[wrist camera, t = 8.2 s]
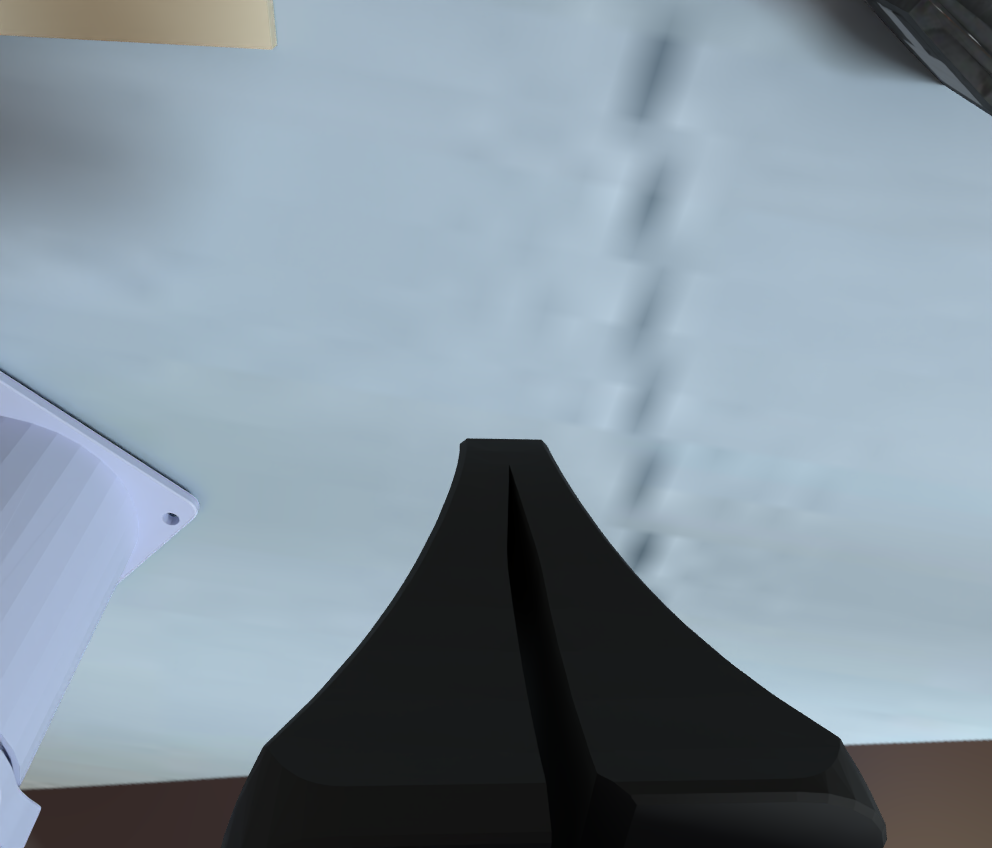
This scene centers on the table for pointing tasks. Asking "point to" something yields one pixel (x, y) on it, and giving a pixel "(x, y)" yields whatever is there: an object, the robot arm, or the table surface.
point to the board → (145, 21)
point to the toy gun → (947, 41)
